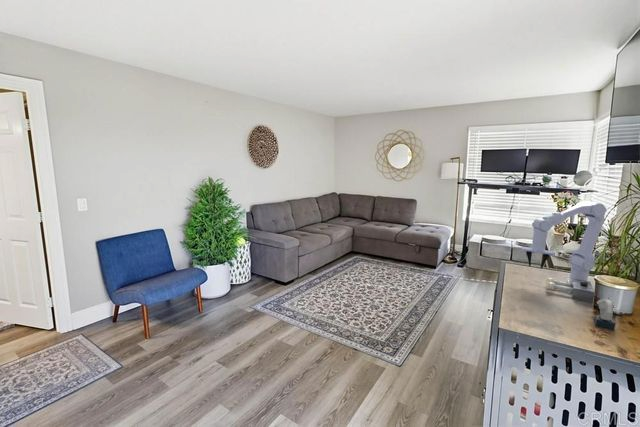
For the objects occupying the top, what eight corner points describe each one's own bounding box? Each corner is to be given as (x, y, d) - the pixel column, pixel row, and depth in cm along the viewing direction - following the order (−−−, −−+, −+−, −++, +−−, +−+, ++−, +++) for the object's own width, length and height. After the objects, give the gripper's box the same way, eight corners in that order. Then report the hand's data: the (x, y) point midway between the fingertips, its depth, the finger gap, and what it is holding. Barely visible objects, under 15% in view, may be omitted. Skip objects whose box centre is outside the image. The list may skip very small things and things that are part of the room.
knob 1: (576, 293, 151) (577, 286, 151) (577, 296, 148) (578, 288, 148) (546, 287, 158) (547, 280, 157) (546, 289, 155) (547, 282, 154)
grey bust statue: (610, 323, 126) (615, 298, 124) (615, 333, 119) (620, 306, 117) (592, 319, 129) (597, 294, 127) (595, 328, 122) (601, 302, 120)
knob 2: (575, 288, 157) (576, 281, 156) (575, 291, 154) (577, 284, 153) (545, 282, 164) (546, 276, 163) (546, 285, 161) (547, 278, 160)
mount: (569, 288, 160) (571, 275, 159) (588, 292, 156) (590, 278, 155) (572, 298, 148) (574, 284, 147) (592, 303, 144) (595, 288, 143)
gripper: (522, 241, 162) (518, 266, 165) (557, 245, 154) (552, 272, 157) (522, 238, 168) (519, 262, 170) (556, 242, 160) (552, 268, 162)
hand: (535, 266), depth 164 cm, fingers open, 4 cm apart
